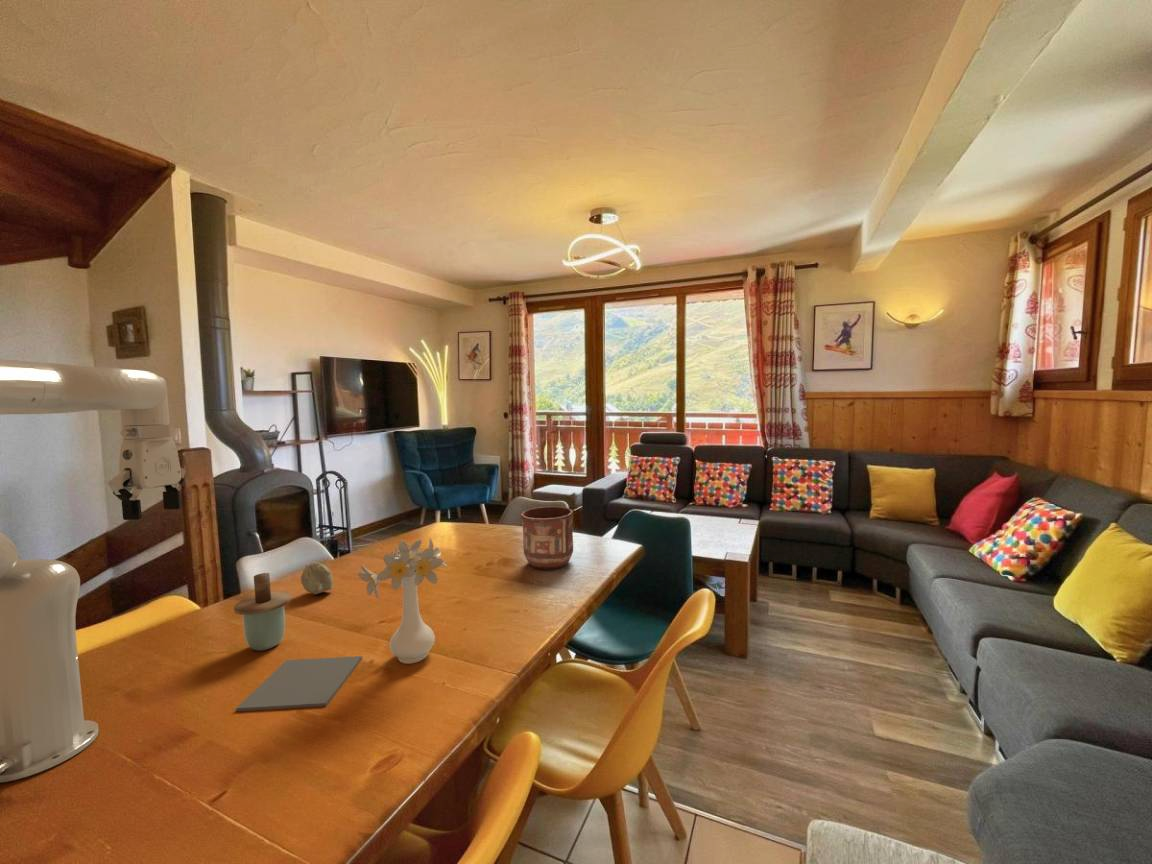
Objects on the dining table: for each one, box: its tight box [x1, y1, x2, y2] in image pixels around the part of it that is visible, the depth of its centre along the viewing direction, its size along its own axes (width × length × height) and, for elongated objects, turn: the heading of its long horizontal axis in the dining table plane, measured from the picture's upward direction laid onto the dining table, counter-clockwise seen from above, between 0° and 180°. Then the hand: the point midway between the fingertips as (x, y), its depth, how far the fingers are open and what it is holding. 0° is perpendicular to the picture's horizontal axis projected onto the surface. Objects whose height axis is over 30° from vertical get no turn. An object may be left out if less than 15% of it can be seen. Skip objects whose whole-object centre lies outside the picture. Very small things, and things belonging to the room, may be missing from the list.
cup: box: [242, 605, 286, 651], centre depth 108 cm, size 8×8×10 cm
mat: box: [235, 655, 363, 712], centre depth 93 cm, size 16×16×1 cm
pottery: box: [520, 505, 574, 571], centre depth 158 cm, size 18×18×18 cm
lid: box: [233, 572, 292, 616], centre depth 107 cm, size 11×11×7 cm
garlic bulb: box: [300, 561, 335, 595], centre depth 138 cm, size 9×8×10 cm
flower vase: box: [357, 537, 448, 665], centre depth 100 cm, size 13×18×25 cm
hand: (153, 513), depth 99 cm, fingers open, 9 cm apart
